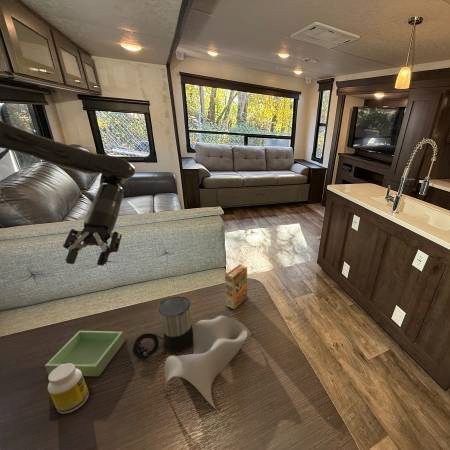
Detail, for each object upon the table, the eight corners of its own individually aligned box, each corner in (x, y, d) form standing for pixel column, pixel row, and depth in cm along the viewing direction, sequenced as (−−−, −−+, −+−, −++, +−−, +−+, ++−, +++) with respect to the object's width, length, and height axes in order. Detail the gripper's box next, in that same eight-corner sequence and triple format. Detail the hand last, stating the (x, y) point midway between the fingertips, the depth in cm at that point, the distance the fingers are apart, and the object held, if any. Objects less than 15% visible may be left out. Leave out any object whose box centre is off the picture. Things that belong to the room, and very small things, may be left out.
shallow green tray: (48, 375, 68) (44, 365, 67) (82, 339, 80) (79, 330, 78) (98, 376, 69) (95, 366, 68) (125, 340, 81) (122, 331, 79)
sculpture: (205, 325, 90) (203, 303, 86) (254, 336, 87) (254, 314, 83) (155, 392, 67) (149, 367, 63) (220, 410, 64) (218, 385, 60)
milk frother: (200, 336, 85) (197, 302, 79) (159, 374, 71) (151, 336, 66) (171, 321, 90) (166, 287, 84) (127, 353, 77) (117, 317, 71)
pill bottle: (91, 402, 63) (80, 373, 59) (58, 420, 59) (43, 390, 55) (87, 384, 67) (77, 355, 63) (56, 400, 63) (43, 370, 59)
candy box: (234, 309, 98) (233, 277, 92) (225, 306, 99) (224, 274, 94) (247, 297, 105) (247, 266, 99) (239, 293, 107) (239, 263, 101)
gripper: (70, 208, 75) (48, 260, 69) (119, 211, 76) (102, 262, 70) (88, 218, 82) (69, 266, 76) (132, 220, 83) (117, 268, 77)
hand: (85, 264), depth 73 cm, fingers open, 8 cm apart
